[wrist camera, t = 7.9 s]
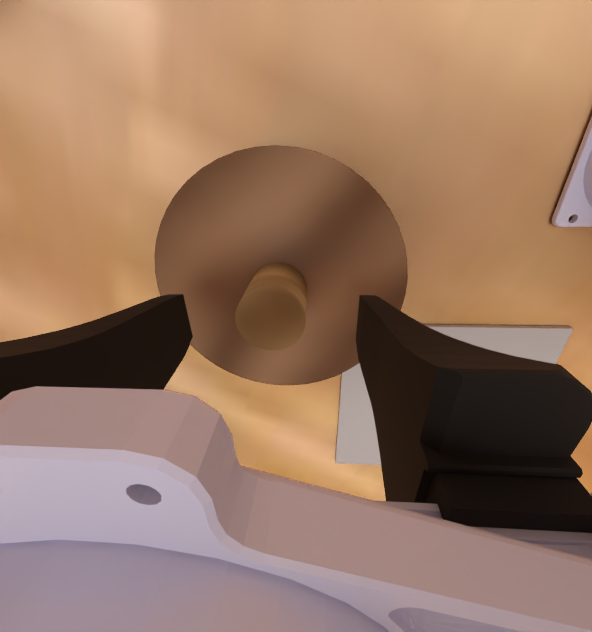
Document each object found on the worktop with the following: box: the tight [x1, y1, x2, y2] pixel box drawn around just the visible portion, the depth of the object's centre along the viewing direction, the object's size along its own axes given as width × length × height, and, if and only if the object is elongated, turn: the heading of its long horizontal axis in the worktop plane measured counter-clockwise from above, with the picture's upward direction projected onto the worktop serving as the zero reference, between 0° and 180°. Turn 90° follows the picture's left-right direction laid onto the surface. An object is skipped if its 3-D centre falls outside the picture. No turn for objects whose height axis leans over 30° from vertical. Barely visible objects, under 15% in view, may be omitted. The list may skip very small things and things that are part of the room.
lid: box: [155, 145, 407, 385], centre depth 15 cm, size 14×14×4 cm
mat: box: [335, 324, 573, 465], centre depth 26 cm, size 17×17×1 cm
